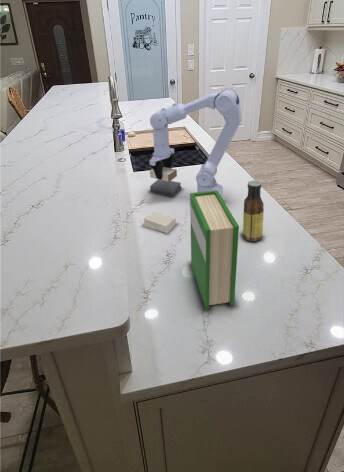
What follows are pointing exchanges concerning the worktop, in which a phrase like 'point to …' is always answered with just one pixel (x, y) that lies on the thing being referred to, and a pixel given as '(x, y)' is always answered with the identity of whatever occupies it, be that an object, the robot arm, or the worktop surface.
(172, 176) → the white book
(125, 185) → the worktop surface
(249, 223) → the sauce bottle
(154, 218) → the cream rectangular block
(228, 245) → the hardback book
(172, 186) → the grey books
